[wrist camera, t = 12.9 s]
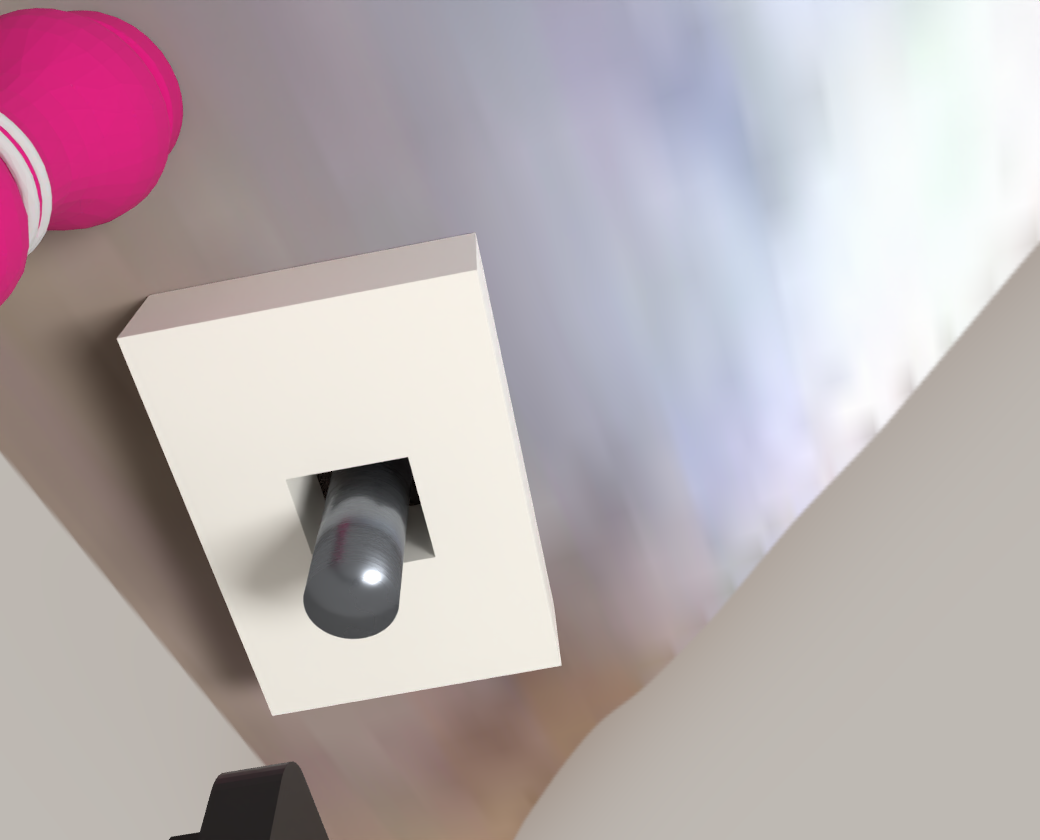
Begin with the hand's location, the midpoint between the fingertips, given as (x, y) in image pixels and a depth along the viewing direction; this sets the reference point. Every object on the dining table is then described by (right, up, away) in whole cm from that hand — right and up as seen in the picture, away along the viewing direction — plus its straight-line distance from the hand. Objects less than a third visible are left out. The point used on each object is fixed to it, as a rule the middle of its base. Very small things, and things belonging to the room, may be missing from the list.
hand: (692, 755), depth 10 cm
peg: (-9, +1, +36) cm, 37 cm away
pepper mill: (-18, +16, +28) cm, 37 cm away
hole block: (-9, +1, +36) cm, 37 cm away
